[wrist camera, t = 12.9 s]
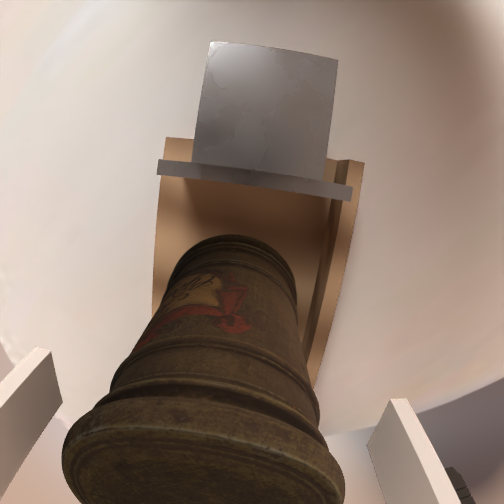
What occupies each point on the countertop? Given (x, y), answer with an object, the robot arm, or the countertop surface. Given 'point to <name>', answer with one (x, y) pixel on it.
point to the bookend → (263, 121)
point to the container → (210, 395)
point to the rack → (264, 235)
